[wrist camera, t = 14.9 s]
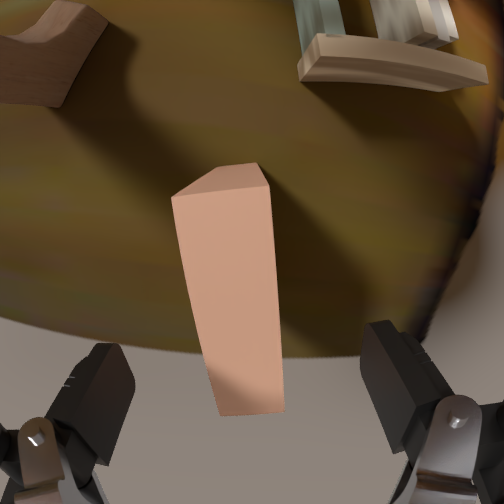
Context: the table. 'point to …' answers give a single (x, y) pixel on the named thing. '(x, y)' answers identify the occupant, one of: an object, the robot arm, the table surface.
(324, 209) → the table surface
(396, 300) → the table surface
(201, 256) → the pink rectangular block
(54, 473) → the robot arm
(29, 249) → the table surface
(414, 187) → the table surface
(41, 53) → the wooden block
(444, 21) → the offcut rack
